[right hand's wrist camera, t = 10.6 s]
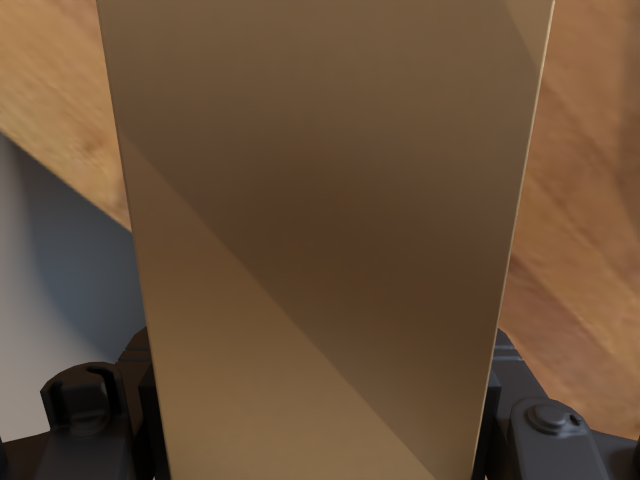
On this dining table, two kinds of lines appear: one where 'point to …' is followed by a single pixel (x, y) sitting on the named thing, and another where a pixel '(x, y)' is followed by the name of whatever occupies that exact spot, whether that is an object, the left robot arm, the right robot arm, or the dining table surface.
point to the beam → (323, 223)
